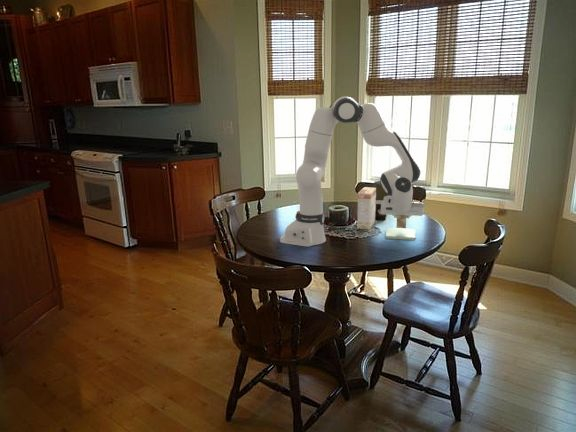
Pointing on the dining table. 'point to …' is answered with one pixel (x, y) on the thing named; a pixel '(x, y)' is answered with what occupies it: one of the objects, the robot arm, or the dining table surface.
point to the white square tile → (400, 233)
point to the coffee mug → (379, 211)
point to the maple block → (401, 221)
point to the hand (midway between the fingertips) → (401, 216)
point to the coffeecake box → (366, 208)
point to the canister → (379, 191)
